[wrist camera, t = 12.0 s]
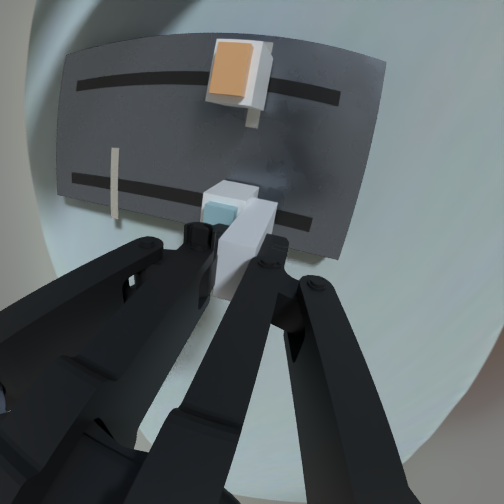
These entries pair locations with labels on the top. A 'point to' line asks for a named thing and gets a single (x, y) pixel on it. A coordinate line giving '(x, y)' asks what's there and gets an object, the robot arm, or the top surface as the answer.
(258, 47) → the fader
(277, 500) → the top surface
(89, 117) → the console
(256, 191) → the fader
